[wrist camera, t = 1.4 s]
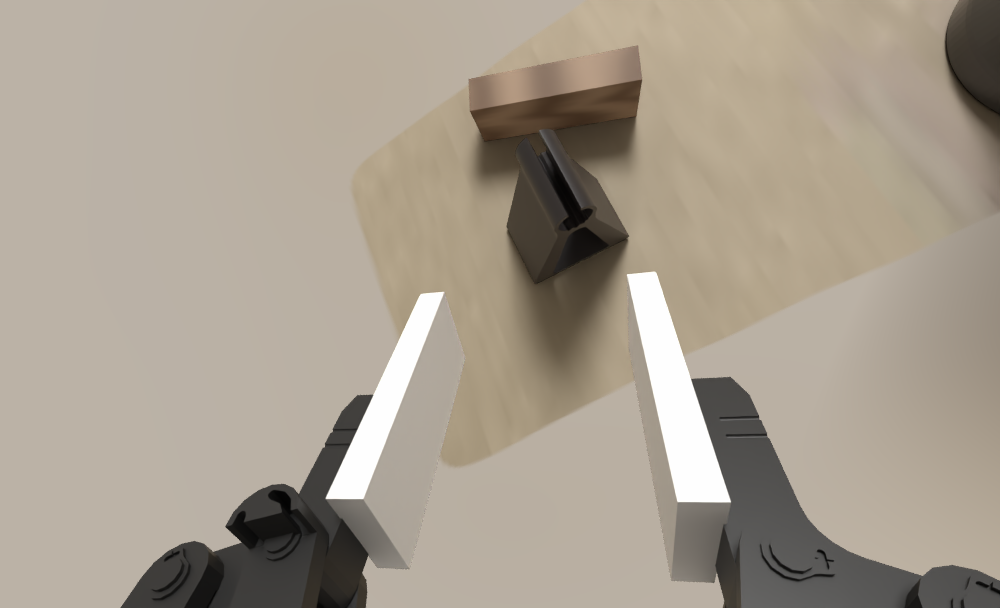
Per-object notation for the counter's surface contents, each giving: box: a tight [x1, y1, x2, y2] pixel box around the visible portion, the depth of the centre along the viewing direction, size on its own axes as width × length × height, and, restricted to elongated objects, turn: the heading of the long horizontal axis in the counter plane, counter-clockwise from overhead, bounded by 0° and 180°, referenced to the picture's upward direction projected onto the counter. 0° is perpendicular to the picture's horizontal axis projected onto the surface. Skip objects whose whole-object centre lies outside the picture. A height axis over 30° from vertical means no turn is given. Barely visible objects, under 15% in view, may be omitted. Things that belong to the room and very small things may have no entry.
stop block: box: [469, 46, 642, 141], centre depth 38 cm, size 14×3×5 cm, turn 93°
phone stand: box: [507, 129, 629, 284], centre depth 33 cm, size 9×6×12 cm, turn 115°
